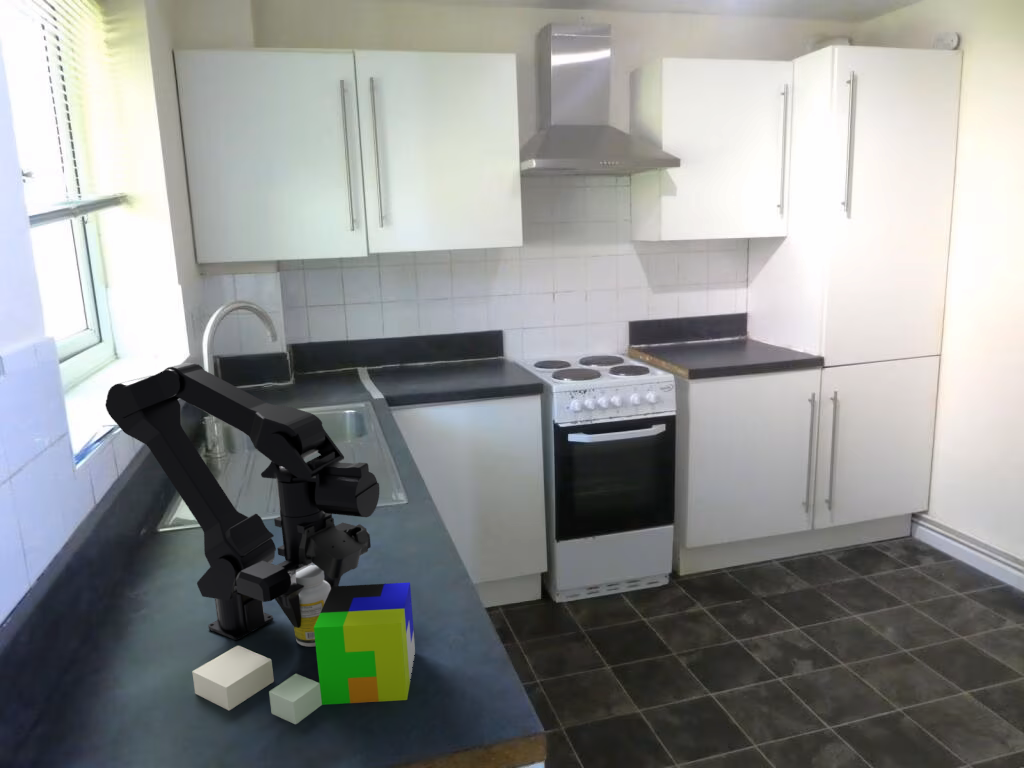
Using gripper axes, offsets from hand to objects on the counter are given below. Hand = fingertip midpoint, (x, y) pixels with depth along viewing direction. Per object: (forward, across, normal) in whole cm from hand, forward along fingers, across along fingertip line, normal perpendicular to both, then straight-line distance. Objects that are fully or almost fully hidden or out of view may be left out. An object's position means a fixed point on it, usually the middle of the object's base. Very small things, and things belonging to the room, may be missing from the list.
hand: (313, 617), depth 100 cm
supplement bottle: (+3, 0, 0) cm, 3 cm away
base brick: (+3, -13, 0) cm, 13 cm away
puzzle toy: (+3, -3, -13) cm, 14 cm away
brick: (+3, -12, -10) cm, 16 cm away
